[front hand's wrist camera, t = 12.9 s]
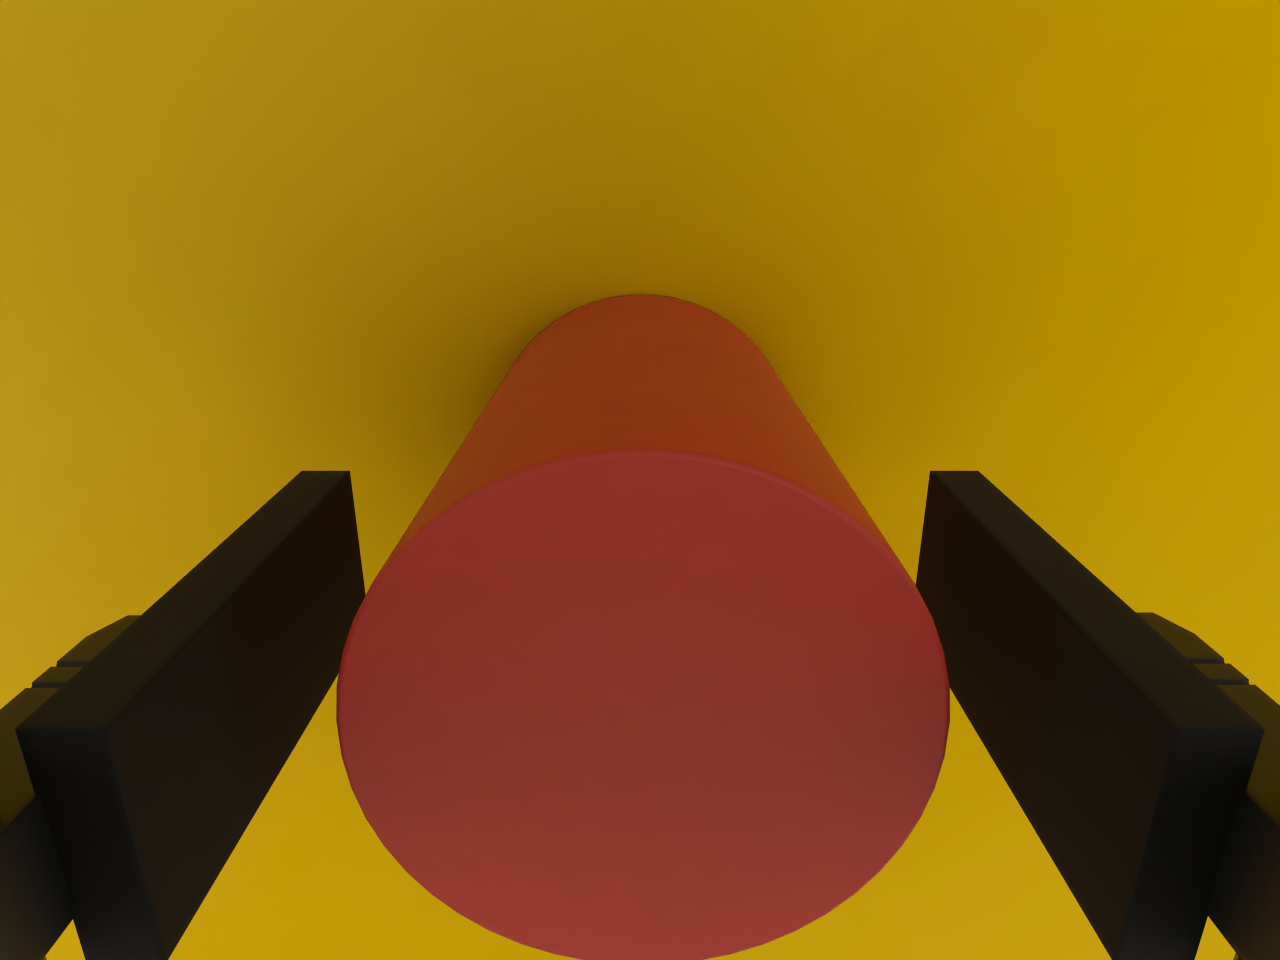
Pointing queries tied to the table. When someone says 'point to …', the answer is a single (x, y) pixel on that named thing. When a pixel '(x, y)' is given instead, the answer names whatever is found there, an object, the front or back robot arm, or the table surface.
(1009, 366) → the table surface
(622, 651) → the canister
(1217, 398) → the table surface
